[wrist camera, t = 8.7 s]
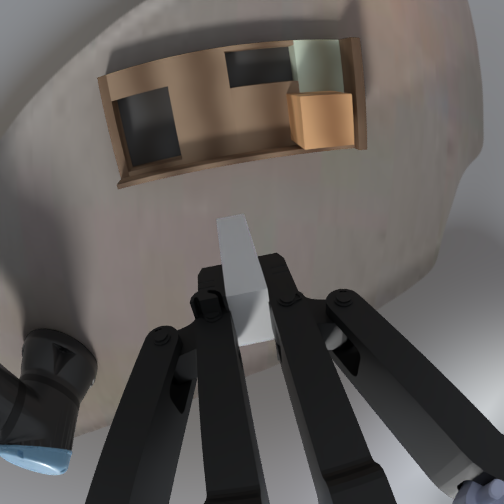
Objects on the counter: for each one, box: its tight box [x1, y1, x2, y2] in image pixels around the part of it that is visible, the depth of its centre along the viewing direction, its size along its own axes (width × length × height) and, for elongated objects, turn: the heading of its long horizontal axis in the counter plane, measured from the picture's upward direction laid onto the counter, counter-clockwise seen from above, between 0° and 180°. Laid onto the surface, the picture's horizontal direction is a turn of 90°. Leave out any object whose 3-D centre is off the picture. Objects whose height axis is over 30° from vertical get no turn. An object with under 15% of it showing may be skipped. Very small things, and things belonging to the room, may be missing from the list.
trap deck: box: [97, 37, 367, 189], centre depth 28 cm, size 26×12×6 cm, turn 98°
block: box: [286, 91, 354, 150], centre depth 28 cm, size 5×5×5 cm
